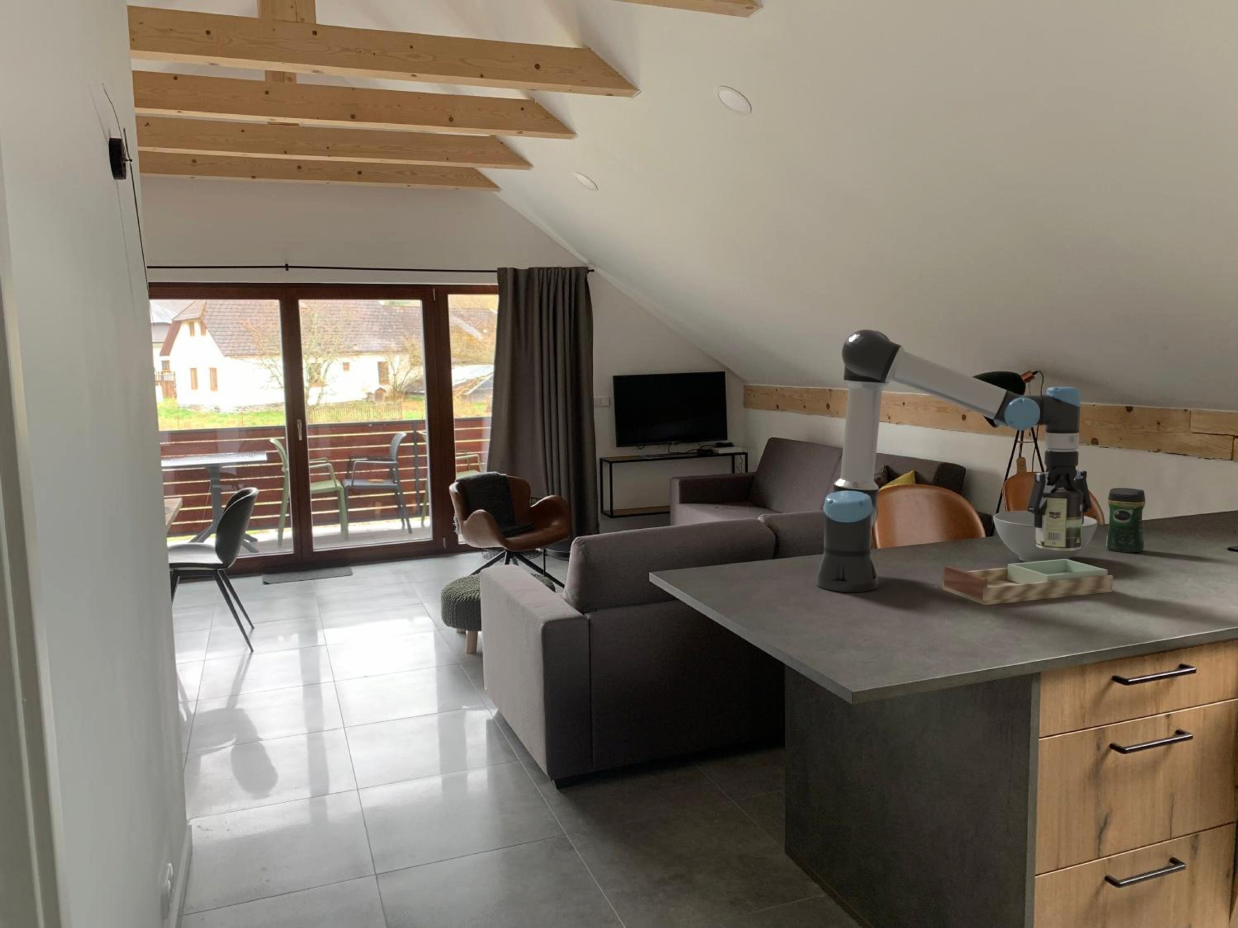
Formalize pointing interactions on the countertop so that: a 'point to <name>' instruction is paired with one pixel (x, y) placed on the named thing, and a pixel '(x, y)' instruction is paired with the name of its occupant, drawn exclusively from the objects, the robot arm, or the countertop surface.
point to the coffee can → (1063, 521)
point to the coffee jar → (1125, 520)
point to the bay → (1016, 586)
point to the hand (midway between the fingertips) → (1058, 539)
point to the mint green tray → (1051, 571)
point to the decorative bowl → (1034, 536)
